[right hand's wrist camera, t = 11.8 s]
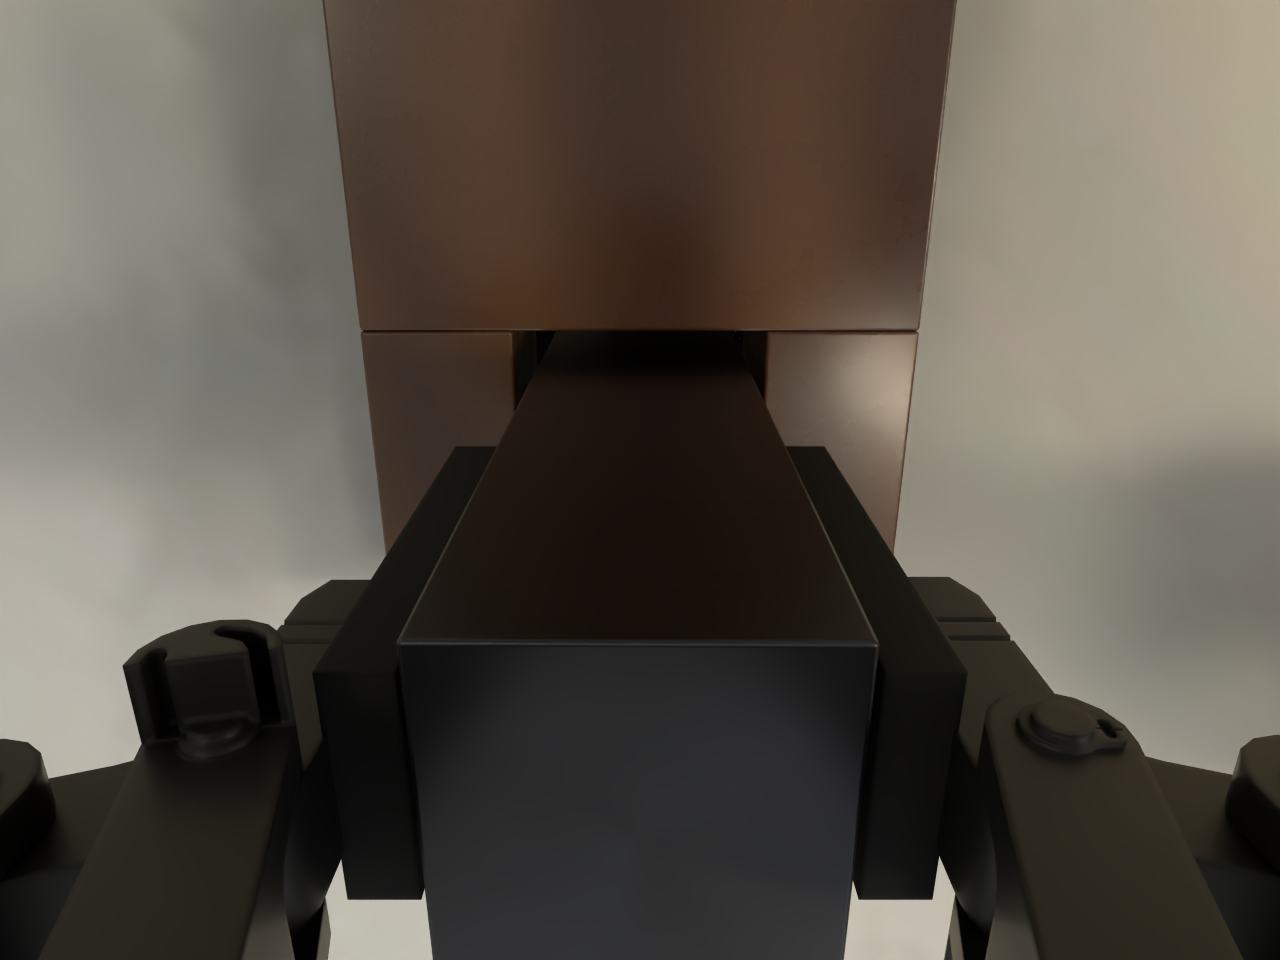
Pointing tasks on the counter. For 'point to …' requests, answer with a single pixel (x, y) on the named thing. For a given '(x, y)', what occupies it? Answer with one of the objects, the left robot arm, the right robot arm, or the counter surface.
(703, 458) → the peg
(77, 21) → the counter surface
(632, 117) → the peg board
